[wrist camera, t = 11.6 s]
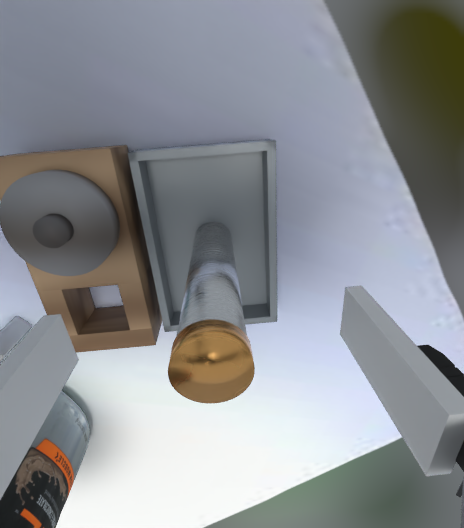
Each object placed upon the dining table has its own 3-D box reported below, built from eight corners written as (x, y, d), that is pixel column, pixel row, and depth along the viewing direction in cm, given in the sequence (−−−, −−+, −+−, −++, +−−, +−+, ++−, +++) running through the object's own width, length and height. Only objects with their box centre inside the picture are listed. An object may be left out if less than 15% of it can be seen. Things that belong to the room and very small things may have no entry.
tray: (137, 149, 23) (127, 152, 20) (268, 139, 23) (275, 140, 20) (169, 313, 29) (164, 331, 26) (271, 304, 29) (277, 321, 27)
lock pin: (190, 222, 25) (161, 342, 11) (231, 218, 25) (252, 334, 11) (195, 259, 26) (175, 407, 12) (234, 255, 26) (256, 399, 12)
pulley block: (20, 153, 22) (-50, 162, 16) (126, 145, 22) (94, 151, 16) (81, 325, 29) (47, 376, 23) (162, 318, 29) (149, 366, 23)
